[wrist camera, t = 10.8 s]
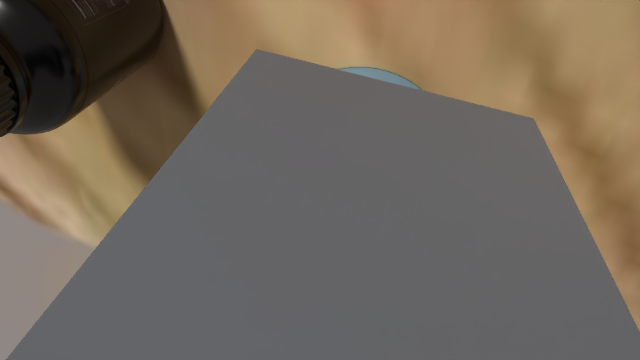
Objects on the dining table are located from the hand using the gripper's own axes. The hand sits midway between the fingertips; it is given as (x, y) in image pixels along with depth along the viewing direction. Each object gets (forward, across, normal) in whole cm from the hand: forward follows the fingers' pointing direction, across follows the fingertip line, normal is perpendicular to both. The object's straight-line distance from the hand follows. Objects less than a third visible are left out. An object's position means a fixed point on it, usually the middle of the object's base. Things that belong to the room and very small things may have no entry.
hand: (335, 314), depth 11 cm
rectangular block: (+3, 0, 0) cm, 3 cm away
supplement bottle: (+17, +15, 0) cm, 23 cm away
